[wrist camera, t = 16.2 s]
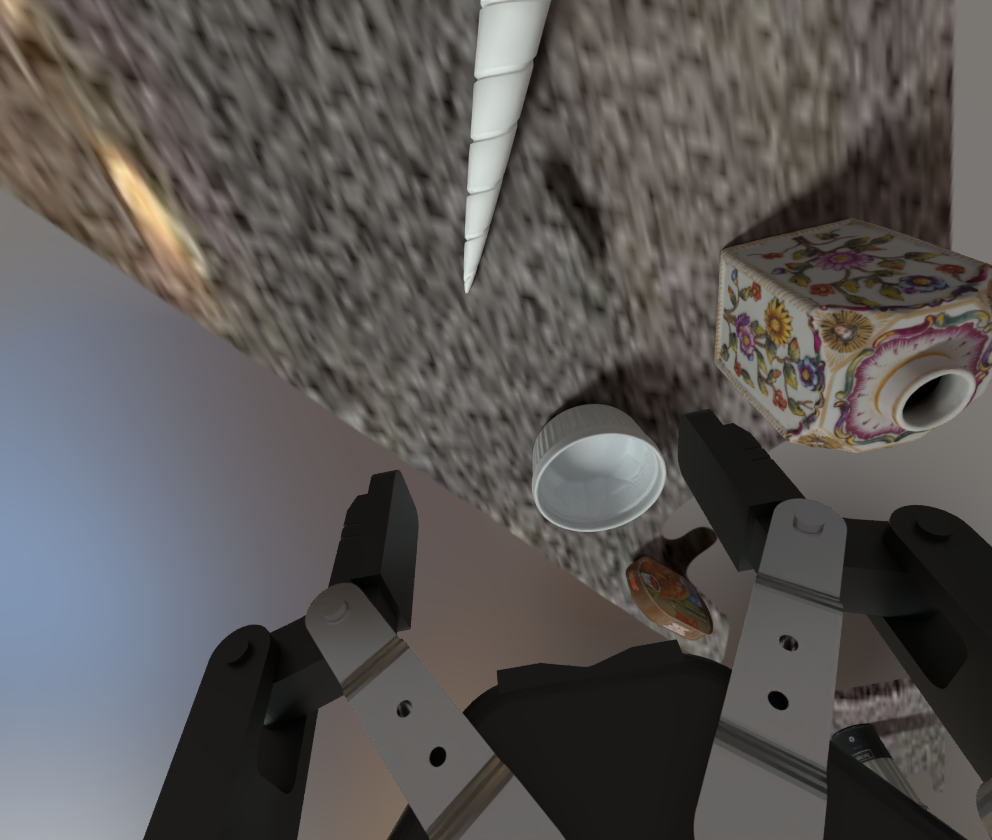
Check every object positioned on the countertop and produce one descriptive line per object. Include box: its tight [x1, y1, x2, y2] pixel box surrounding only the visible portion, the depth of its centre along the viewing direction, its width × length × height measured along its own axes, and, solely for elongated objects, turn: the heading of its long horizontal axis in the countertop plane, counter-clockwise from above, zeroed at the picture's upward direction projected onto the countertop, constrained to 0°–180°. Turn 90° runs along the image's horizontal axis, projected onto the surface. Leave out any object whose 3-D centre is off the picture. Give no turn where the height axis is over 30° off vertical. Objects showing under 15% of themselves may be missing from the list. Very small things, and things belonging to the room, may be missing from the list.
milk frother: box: [831, 725, 929, 811], centre depth 101 cm, size 14×16×15 cm
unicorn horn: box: [464, 0, 551, 294], centre depth 33 cm, size 5×24×5 cm, turn 166°
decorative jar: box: [714, 218, 992, 453], centre depth 37 cm, size 12×12×18 cm
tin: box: [626, 556, 713, 640], centre depth 63 cm, size 15×3×8 cm, turn 50°
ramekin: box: [532, 404, 666, 532], centre depth 50 cm, size 13×13×7 cm
